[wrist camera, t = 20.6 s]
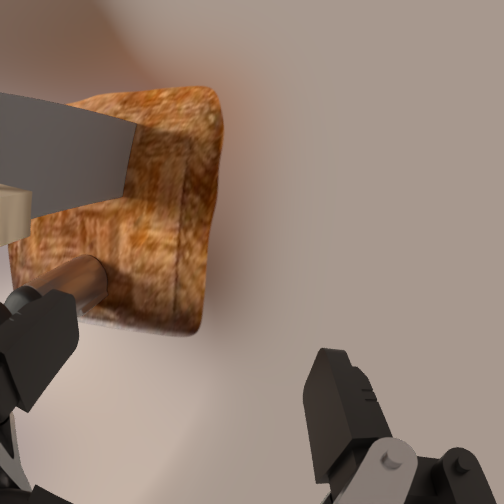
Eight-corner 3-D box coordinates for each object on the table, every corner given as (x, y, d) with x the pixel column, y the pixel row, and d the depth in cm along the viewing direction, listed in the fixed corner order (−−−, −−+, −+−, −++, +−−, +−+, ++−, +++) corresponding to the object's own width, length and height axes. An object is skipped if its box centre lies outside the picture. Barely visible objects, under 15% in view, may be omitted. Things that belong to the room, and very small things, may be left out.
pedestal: (136, 123, 44) (-18, 89, 13) (122, 196, 47) (-33, 238, 16) (92, 119, 44) (-55, 99, 13) (79, 187, 48) (-67, 218, 16)
